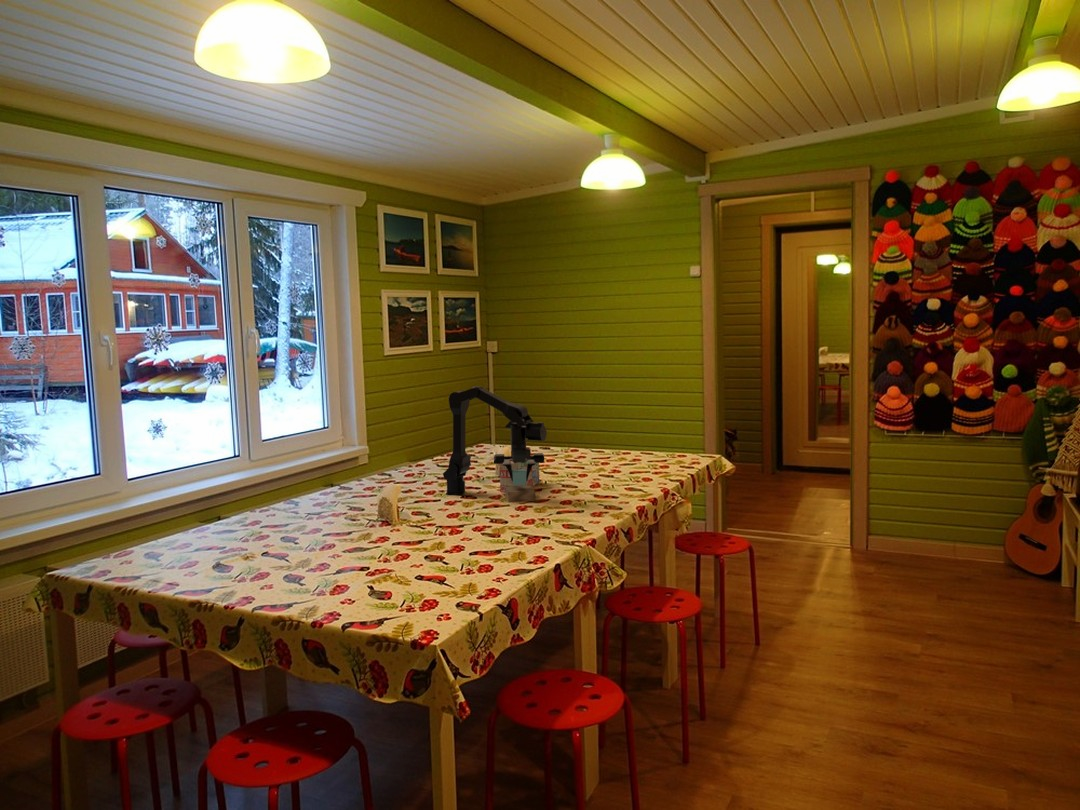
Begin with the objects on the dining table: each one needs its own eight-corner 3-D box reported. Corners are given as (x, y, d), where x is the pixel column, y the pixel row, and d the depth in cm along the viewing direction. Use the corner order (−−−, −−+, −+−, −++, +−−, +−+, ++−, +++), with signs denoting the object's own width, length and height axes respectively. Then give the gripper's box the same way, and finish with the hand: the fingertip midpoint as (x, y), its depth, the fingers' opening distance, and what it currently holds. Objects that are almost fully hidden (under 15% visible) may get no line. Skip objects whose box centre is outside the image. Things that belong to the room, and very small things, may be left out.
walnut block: (508, 503, 298) (508, 492, 297) (505, 497, 308) (505, 486, 307) (535, 501, 299) (535, 491, 299) (531, 495, 309) (531, 485, 309)
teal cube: (512, 485, 300) (512, 472, 300) (513, 482, 305) (512, 469, 305) (526, 485, 300) (526, 471, 300) (526, 482, 305) (526, 469, 305)
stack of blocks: (526, 482, 334) (525, 452, 332) (539, 483, 331) (539, 453, 329) (500, 492, 315) (499, 461, 313) (514, 494, 312) (513, 462, 311)
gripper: (492, 443, 293) (493, 486, 295) (544, 442, 293) (545, 485, 295) (493, 439, 304) (494, 480, 306) (543, 438, 304) (544, 478, 306)
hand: (519, 481), depth 303 cm, fingers closed on teal cube, 5 cm apart
